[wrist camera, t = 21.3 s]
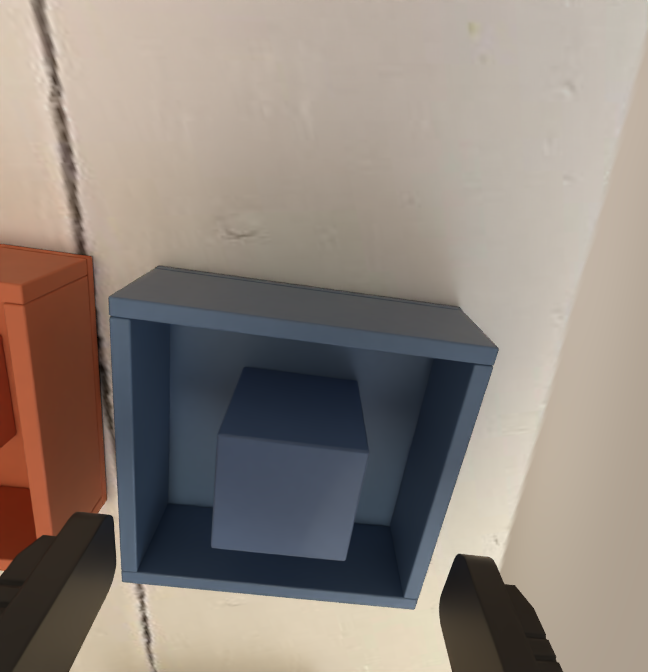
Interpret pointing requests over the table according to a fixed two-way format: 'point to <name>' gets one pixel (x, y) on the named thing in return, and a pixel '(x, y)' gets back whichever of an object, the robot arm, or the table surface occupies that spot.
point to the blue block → (289, 465)
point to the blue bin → (295, 357)
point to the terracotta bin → (49, 395)
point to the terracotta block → (5, 403)
